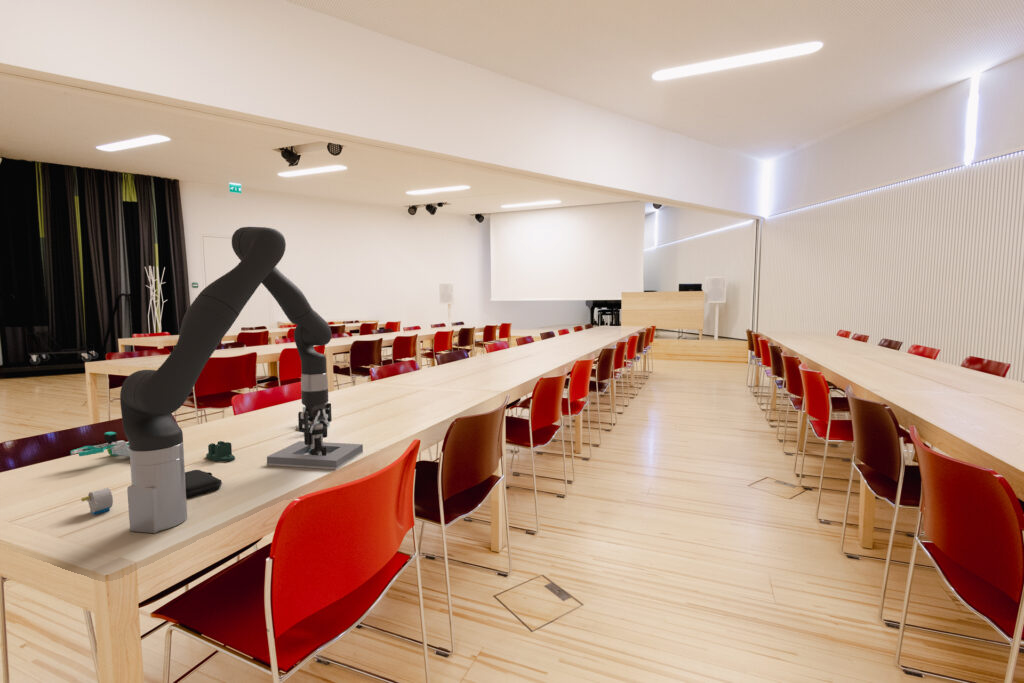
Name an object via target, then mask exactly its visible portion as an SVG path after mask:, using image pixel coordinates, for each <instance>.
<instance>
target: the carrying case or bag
mask: <svg viewBox="0 0 1024 683" xmlns="http://www.w3.org/2000/svg"><path fill="white" fill-rule="evenodd" d="M185 484H186V499H190V498H194V497H197V496H200V495H204V494H207V493H211V492H215V491H218V490H219V488H220V487H222V485H223V482H222V479H219V478H217V477H215V476H213V474H212V472H207V471H204V470H203V471H202V470H200V469H193V470H189V471H188V470H187V471H185Z"/></svg>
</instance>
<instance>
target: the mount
mask: <svg viewBox="0 0 1024 683" xmlns="http://www.w3.org/2000/svg"><path fill="white" fill-rule="evenodd" d="M207 447H208V448H207V450H208V453H206V454H205V456H206V458H207V460H209V461H213V462H219V463H223V462H224V463H229V462H233V461H236V456H235V455H233V450H232V447H233V446H232V442H229V441H228V442H227V441H226V442H225V441H222V440H220V441H217V443H213V442H212V443H209V444H208V445H207Z"/></svg>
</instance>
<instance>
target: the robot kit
mask: <svg viewBox="0 0 1024 683" xmlns="http://www.w3.org/2000/svg"><path fill="white" fill-rule="evenodd" d="M117 435H118V434H117V432H115V431H107V432H103V436H104V441H105V442H106V443H100V444H97V445H96V444H95V445H85V446H81V447H79V448H75V449H72V450H70V455H71V456H72V455H76V454H78V456H79V457H85V456H91V455H96V454H101V453H104V452H105V451H106V450H107V453H108V454H109V456H111V457H112V456H115V457H116V456H124V457H129V458H130V449H129V442H127V441H125V440H117Z"/></svg>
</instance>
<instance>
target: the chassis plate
mask: <svg viewBox="0 0 1024 683" xmlns="http://www.w3.org/2000/svg"><path fill="white" fill-rule="evenodd" d="M363 445H364V444H362V443H347V442H346V443H342V442H324V441H323V446H322V447H326V456H319V455H308V454H309V450H310V449H311V445H305V442H304V440H302V441H301V440H299V441H296V442H294V443H291V445H289V446H287V447H284V448H282V449H280V450H278V451H276V452H273V453H272V454H270V455H267V456H266V464H267V466H276V467H277V466H279V467H293V468H313V469H327V470H338V469H340V468H341V467H342V466H345V464H347V463H348V462H350V461H351V460H353V459H355V458H356V457H358V456H359V455H361V454H362V453H363V452H364V446H363Z"/></svg>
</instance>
